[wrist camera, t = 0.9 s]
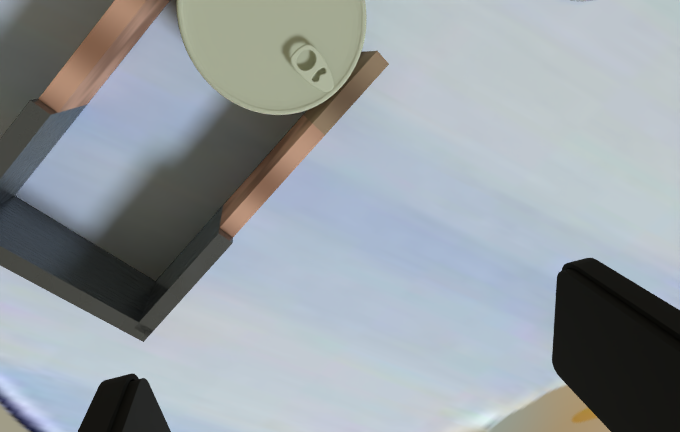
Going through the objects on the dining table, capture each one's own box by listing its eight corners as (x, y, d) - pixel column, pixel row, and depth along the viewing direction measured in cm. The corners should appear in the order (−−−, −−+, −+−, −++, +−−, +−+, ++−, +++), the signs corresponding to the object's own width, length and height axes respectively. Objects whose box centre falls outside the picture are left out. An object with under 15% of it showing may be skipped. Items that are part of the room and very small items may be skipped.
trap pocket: (71, 92, 29) (30, 100, 24) (234, 213, 35) (232, 243, 29) (-12, 197, 30) (-69, 228, 25) (159, 298, 36) (143, 341, 30)
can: (262, 122, 33) (271, 154, 22) (171, 22, 29) (126, -1, 18) (350, 42, 32) (406, 34, 21) (268, -71, 28) (283, -153, 17)
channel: (221, -98, 27) (216, -130, 22) (368, 63, 33) (388, 64, 28) (71, 92, 29) (38, 98, 24) (234, 213, 35) (232, 237, 30)
